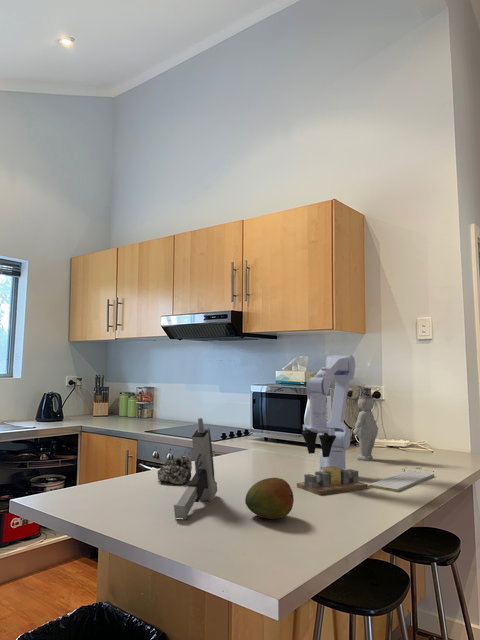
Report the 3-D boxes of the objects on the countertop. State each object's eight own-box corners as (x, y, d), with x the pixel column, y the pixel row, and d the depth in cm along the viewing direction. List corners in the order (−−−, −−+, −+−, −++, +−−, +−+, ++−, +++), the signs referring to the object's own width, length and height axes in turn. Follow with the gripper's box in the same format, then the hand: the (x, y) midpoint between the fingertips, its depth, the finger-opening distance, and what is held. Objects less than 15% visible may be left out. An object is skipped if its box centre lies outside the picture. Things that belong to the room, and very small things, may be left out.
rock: (203, 485, 163) (195, 458, 169) (193, 476, 155) (186, 449, 161) (167, 501, 163) (161, 473, 169) (156, 493, 155) (150, 464, 161)
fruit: (288, 528, 114) (288, 484, 115) (238, 522, 118) (238, 480, 119) (297, 514, 125) (297, 474, 126) (251, 509, 129) (251, 471, 130)
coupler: (323, 483, 155) (322, 467, 156) (332, 481, 157) (332, 466, 157) (331, 485, 152) (330, 469, 152) (341, 484, 153) (340, 468, 154)
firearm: (164, 452, 117) (197, 411, 141) (174, 540, 122) (204, 486, 146) (181, 453, 116) (212, 412, 140) (191, 541, 121) (219, 487, 144)
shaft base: (296, 486, 155) (296, 470, 155) (342, 480, 164) (342, 465, 164) (320, 495, 144) (319, 478, 145) (367, 488, 153) (367, 472, 154)
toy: (368, 455, 213) (367, 387, 216) (387, 458, 207) (385, 387, 210) (346, 460, 200) (345, 388, 203) (365, 463, 194) (364, 388, 197)
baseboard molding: (361, 487, 157) (397, 494, 149) (361, 478, 157) (396, 484, 149) (401, 473, 180) (434, 478, 172) (401, 465, 180) (434, 469, 172)
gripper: (295, 412, 165) (295, 452, 164) (322, 415, 153) (323, 459, 151) (312, 411, 169) (312, 451, 167) (339, 414, 156) (340, 457, 155)
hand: (318, 455), depth 160 cm, fingers open, 7 cm apart
